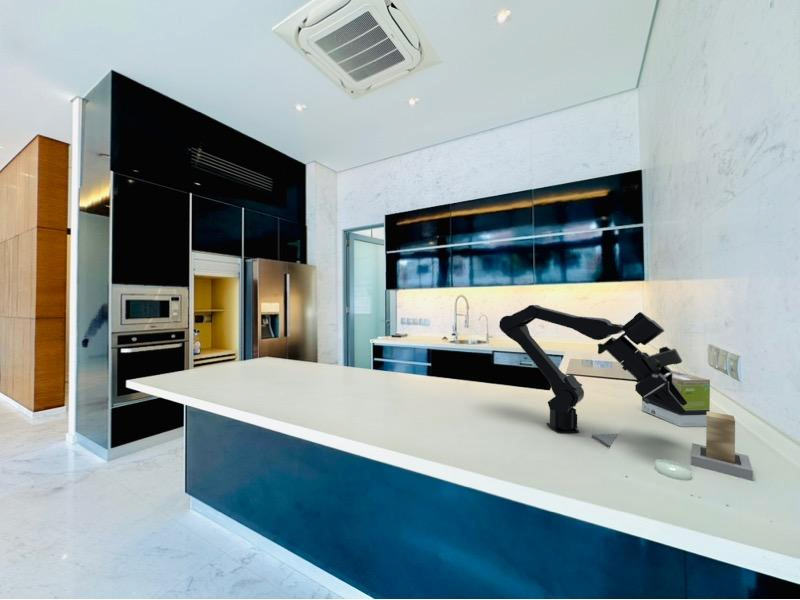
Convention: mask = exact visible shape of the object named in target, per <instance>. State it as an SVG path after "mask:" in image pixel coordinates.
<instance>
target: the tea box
mask: <svg viewBox="0 0 800 600" xmlns="http://www.w3.org/2000/svg"><path fill="white" fill-rule="evenodd" d="M670 370H671V369H670ZM671 373H673V376H672V382H673V383H674V385H675V386H676V388H677V389H678V390H679V392H680V393H681V395H682V396H683V397H684V399H685V400H686V401H687V404H686V405H682V404H681V405H682V407H683V408H684V409H685V411H686V413H684V414H680V413H678V412H676V411H674V410H672V409H669V408H667V407H665V406H663V405H661V404H659V403H656V402H654V401H652V400H650V399H646V398H645V396H646V395H645V396H643V397H641V411H642V412H645V413H648V414H650V415H653V416H655V417H657V418H660V419H661V420H664V421H666V422H668V423H671V424H673V425H675V426H677V427H679V428H693V427H694V428H695V427H696V428H698V427H699V428H701V427H706V421H707V411H708V412H711V410H710V406H711V403H710V402H711V400H710V399H711V398H710V397H711V379H708V378H705V377H701V376H700V377H699V376H695V375H691V374H688V373H684V372H680V371H676V370H671V372H670V373H667V374H665V375H666V376H667V375H669V374H671ZM648 394H649V393H648Z"/></svg>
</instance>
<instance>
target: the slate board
mask: <svg viewBox="0 0 800 600" xmlns="http://www.w3.org/2000/svg"><path fill="white" fill-rule="evenodd" d="M618 437H619V433H608V434H607V433H603V434H602V433H601V434H600V433H595V434H594V433H593V434H591V438H593V440H595V441H597V442H599V443H601V444H602V445H603V444H604V445H603V446H605V447H606V448H608V447H609V448H608V449H611V447H612V446H613V443H614V442H615V441H616V439H617V438H618Z"/></svg>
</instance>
